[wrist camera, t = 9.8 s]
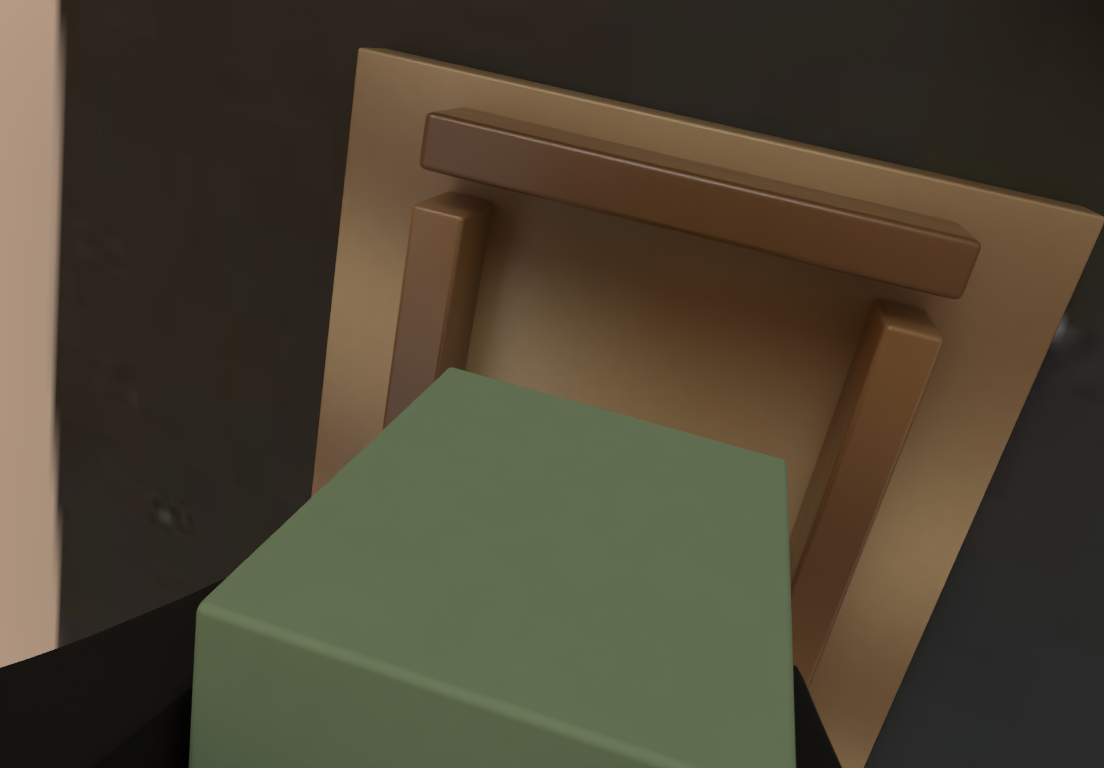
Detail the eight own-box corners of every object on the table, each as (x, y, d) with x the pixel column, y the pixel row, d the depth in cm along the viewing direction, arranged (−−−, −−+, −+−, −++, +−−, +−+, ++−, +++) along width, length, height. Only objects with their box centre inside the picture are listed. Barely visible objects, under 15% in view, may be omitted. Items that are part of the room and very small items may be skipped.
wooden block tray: (383, 47, 14) (144, 39, 9) (1084, 205, 13) (1313, 314, 7) (300, 771, 21) (127, 1030, 15) (769, 939, 19) (767, 1297, 13)
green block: (449, 363, 10) (191, 604, 6) (789, 458, 10) (800, 809, 5) (395, 694, 12) (169, 1070, 8) (677, 789, 12) (614, 1259, 7)
